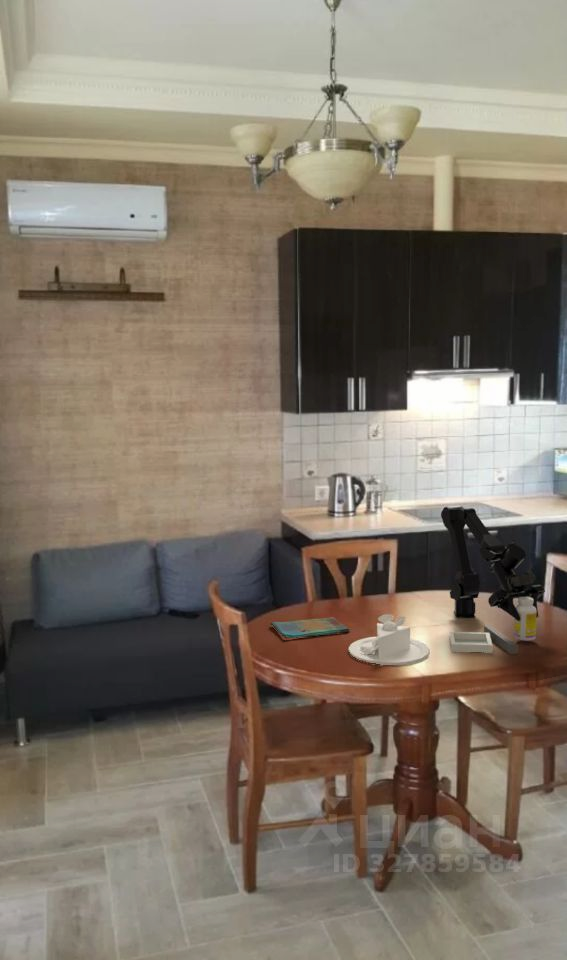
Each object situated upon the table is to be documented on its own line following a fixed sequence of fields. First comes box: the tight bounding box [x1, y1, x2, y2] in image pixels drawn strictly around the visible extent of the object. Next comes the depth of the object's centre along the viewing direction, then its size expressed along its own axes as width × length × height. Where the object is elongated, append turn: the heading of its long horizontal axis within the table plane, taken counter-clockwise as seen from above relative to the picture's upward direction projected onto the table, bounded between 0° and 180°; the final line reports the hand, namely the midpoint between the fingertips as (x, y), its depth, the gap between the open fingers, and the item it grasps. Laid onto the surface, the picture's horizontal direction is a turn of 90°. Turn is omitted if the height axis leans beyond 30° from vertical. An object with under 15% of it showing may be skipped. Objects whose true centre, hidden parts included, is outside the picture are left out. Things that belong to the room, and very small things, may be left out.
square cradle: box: [449, 631, 494, 654], centre depth 250 cm, size 12×12×2 cm
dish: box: [348, 613, 430, 667], centre depth 247 cm, size 25×25×11 cm
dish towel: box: [270, 616, 351, 638], centre depth 271 cm, size 17×23×2 cm
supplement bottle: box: [513, 597, 537, 642], centre depth 252 cm, size 7×7×13 cm
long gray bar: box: [483, 624, 518, 655], centre depth 252 cm, size 20×2×3 cm, turn 9°
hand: (528, 618), depth 251 cm, fingers closed on supplement bottle, 7 cm apart
